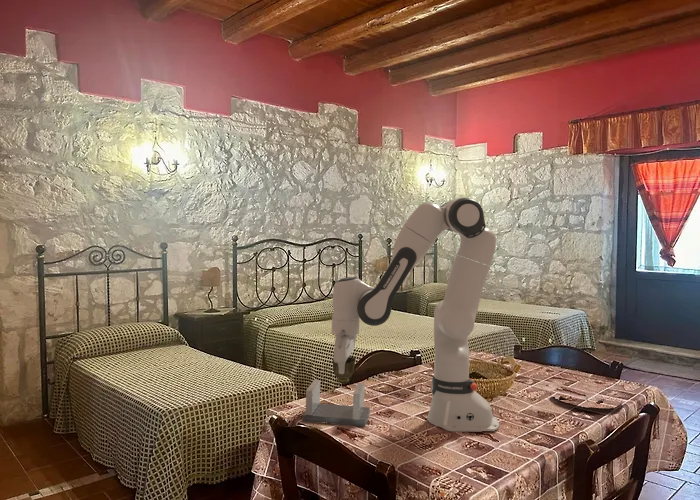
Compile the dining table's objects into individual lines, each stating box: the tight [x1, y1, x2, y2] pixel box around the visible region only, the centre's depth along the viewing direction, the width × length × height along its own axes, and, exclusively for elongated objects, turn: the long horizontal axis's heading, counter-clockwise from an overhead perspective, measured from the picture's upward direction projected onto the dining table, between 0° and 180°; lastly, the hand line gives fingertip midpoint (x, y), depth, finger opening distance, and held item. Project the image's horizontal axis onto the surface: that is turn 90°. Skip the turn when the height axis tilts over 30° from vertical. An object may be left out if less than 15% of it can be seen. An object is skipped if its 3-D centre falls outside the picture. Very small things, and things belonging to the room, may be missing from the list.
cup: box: [332, 355, 356, 384], centre depth 176 cm, size 8×7×8 cm
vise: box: [301, 382, 371, 428], centre depth 177 cm, size 20×12×10 cm, turn 81°
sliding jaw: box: [305, 379, 321, 415], centre depth 178 cm, size 2×12×8 cm, turn 171°
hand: (343, 370), depth 176 cm, fingers closed on cup, 7 cm apart
